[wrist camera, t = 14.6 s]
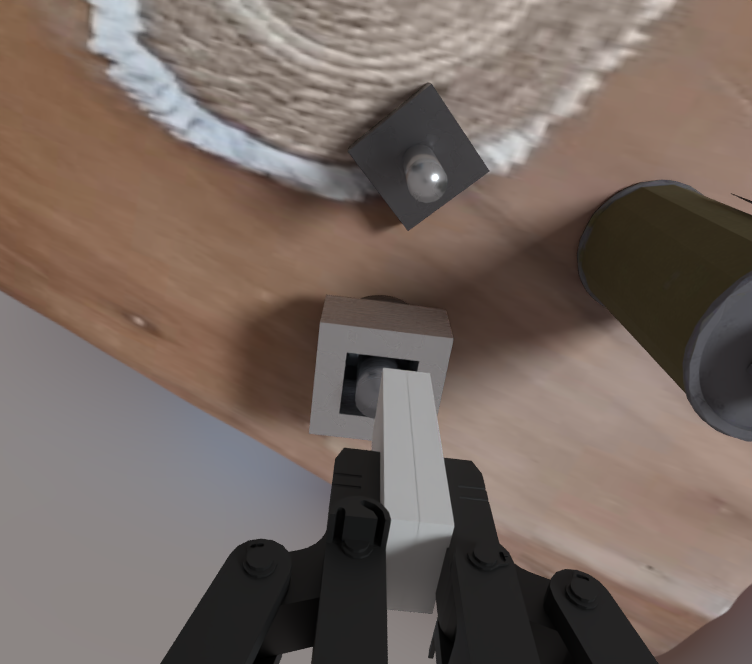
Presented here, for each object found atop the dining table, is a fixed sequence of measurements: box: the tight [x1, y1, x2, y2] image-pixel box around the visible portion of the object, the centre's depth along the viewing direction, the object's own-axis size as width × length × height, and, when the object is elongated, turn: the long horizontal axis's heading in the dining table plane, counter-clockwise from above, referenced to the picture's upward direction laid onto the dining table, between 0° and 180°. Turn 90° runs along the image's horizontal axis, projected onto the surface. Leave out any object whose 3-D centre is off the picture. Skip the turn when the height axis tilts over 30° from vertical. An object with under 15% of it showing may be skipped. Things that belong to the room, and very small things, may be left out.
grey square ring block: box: [309, 294, 454, 441], centre depth 42 cm, size 9×9×5 cm
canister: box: [577, 180, 752, 441], centre depth 34 cm, size 11×10×20 cm
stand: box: [348, 83, 489, 231], centre depth 36 cm, size 7×7×10 cm
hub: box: [343, 295, 410, 419], centre depth 43 cm, size 8×8×9 cm
